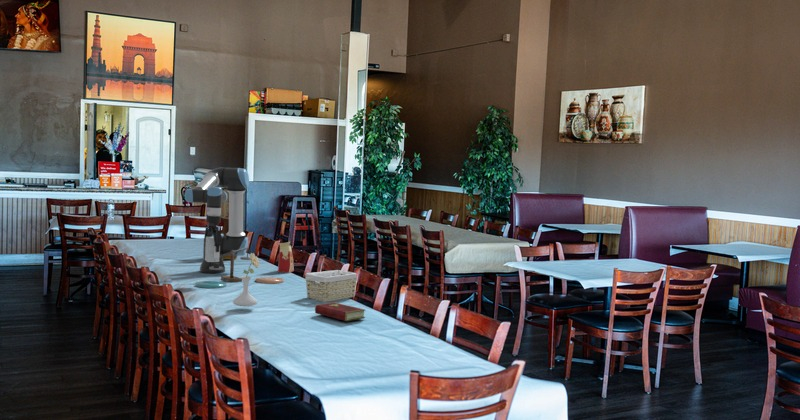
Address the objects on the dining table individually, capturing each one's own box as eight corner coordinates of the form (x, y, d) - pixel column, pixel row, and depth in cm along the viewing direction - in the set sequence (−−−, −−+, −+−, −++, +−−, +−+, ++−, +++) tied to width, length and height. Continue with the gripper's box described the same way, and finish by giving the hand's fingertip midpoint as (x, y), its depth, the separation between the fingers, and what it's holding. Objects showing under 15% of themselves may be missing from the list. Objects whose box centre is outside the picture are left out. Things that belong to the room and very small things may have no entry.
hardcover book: (345, 321, 318) (346, 311, 318) (314, 313, 332) (315, 304, 332) (365, 318, 327) (365, 309, 327) (334, 310, 341) (334, 301, 341)
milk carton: (293, 272, 456) (295, 240, 454) (290, 274, 446) (291, 242, 445) (279, 271, 456) (280, 240, 455) (275, 273, 447) (277, 241, 446)
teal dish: (190, 284, 390) (190, 282, 390) (217, 282, 401) (218, 280, 401) (204, 289, 378) (204, 286, 378) (231, 287, 389) (231, 284, 389)
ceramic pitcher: (233, 262, 487) (235, 218, 485) (204, 261, 487) (205, 217, 485) (240, 259, 506) (242, 216, 505) (212, 257, 506) (213, 215, 505)
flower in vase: (245, 309, 332) (247, 255, 330) (227, 305, 338) (229, 252, 336) (264, 305, 343) (266, 253, 341) (247, 302, 349) (249, 250, 347)
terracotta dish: (250, 280, 415) (250, 278, 415) (274, 278, 426) (274, 276, 426) (264, 284, 403) (264, 282, 403) (289, 282, 414) (289, 280, 414)
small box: (219, 262, 387) (220, 238, 386) (207, 262, 384) (208, 237, 383) (216, 260, 394) (217, 236, 393) (204, 260, 391) (205, 236, 390)
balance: (204, 280, 407) (205, 246, 406) (247, 277, 425) (248, 245, 424) (214, 283, 398) (215, 249, 397) (257, 280, 416) (259, 247, 415)
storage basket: (324, 305, 362) (325, 276, 361) (302, 300, 372) (303, 272, 372) (357, 300, 380) (358, 273, 379) (336, 296, 390) (337, 269, 390)
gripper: (198, 213, 393) (196, 254, 395) (216, 217, 377) (215, 259, 378) (211, 213, 398) (209, 254, 399) (229, 217, 382) (228, 259, 383)
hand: (212, 256), depth 389 cm, fingers closed on small box, 9 cm apart
